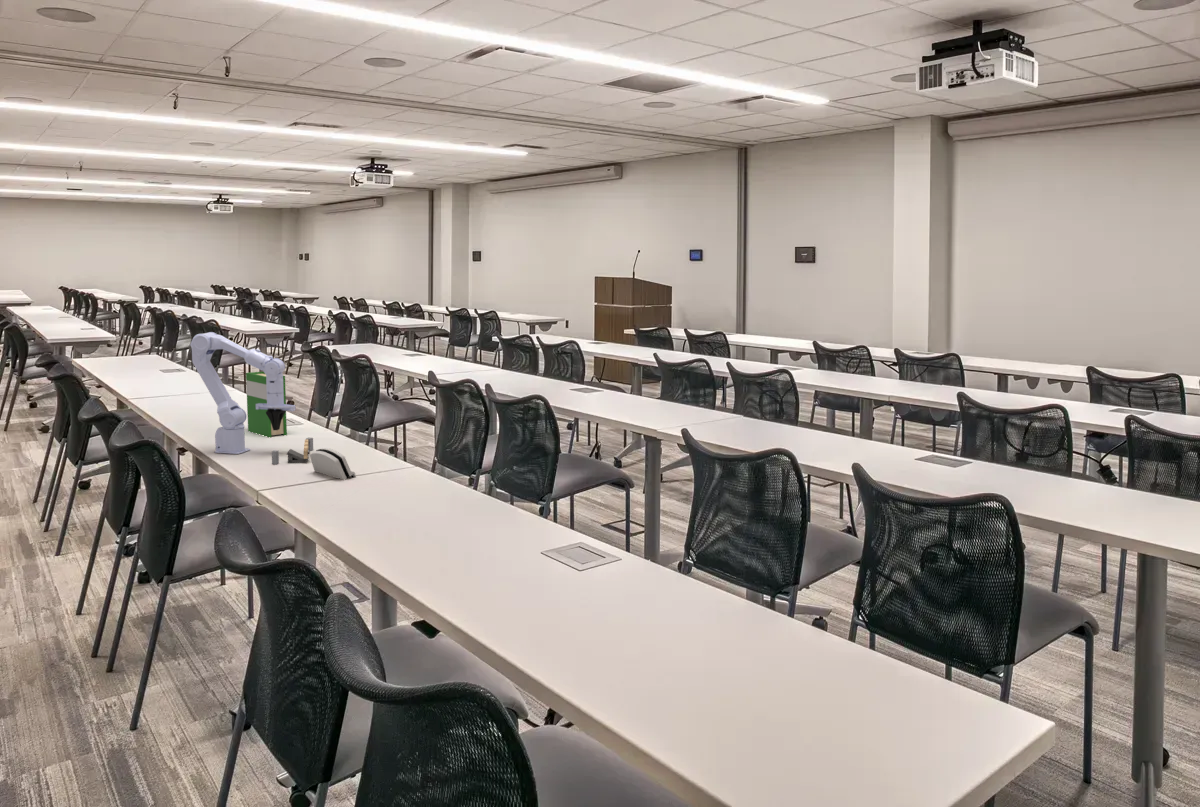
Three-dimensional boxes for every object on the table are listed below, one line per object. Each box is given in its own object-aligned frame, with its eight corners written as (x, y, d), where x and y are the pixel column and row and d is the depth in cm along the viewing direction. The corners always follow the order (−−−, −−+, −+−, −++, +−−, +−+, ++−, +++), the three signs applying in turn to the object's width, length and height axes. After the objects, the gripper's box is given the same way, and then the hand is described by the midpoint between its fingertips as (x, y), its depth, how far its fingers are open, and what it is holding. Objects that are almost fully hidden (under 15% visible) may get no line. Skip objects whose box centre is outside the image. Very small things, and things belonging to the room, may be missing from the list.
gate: (305, 446, 315) (304, 439, 314) (310, 446, 315) (310, 438, 315) (303, 458, 295) (303, 450, 295) (309, 458, 296) (309, 450, 295)
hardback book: (286, 435, 343) (285, 375, 339) (269, 437, 338) (267, 377, 334) (265, 429, 355) (263, 371, 351) (248, 431, 349) (245, 372, 346)
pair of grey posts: (272, 464, 293) (271, 451, 292) (309, 449, 318) (309, 437, 317) (276, 464, 293) (275, 451, 292) (313, 449, 318) (313, 437, 317)
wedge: (308, 459, 301) (308, 448, 301) (306, 463, 296) (305, 451, 296) (289, 460, 300) (289, 448, 299) (286, 463, 295) (286, 451, 295)
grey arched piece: (357, 477, 278) (347, 450, 274) (345, 484, 275) (335, 457, 271) (327, 468, 289) (317, 442, 285) (315, 475, 286) (305, 449, 281)
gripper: (250, 393, 305) (251, 430, 307) (287, 395, 303) (289, 432, 305) (261, 390, 312) (262, 427, 314) (298, 392, 310) (299, 429, 312)
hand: (276, 429), depth 310 cm, fingers closed
